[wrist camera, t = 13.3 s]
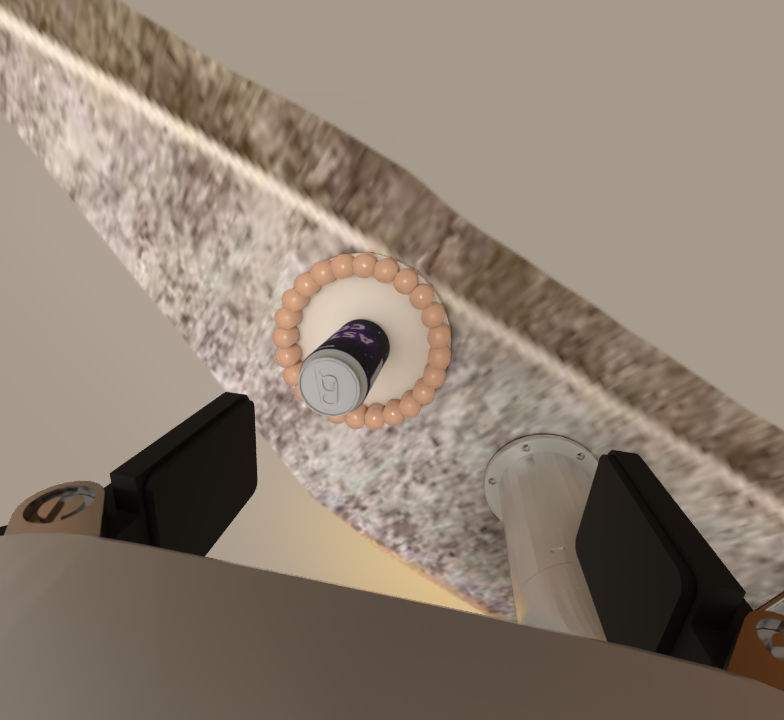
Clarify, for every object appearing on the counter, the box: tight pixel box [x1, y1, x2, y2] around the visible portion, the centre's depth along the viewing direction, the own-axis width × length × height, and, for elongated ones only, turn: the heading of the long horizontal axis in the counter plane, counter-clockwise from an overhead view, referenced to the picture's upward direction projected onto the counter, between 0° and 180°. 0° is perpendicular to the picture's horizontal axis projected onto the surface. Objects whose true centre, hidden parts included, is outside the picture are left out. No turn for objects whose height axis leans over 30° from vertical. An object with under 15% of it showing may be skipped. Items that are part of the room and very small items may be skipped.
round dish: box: [272, 252, 451, 430], centre depth 41 cm, size 18×18×3 cm
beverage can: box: [298, 319, 390, 417], centre depth 35 cm, size 6×6×12 cm
